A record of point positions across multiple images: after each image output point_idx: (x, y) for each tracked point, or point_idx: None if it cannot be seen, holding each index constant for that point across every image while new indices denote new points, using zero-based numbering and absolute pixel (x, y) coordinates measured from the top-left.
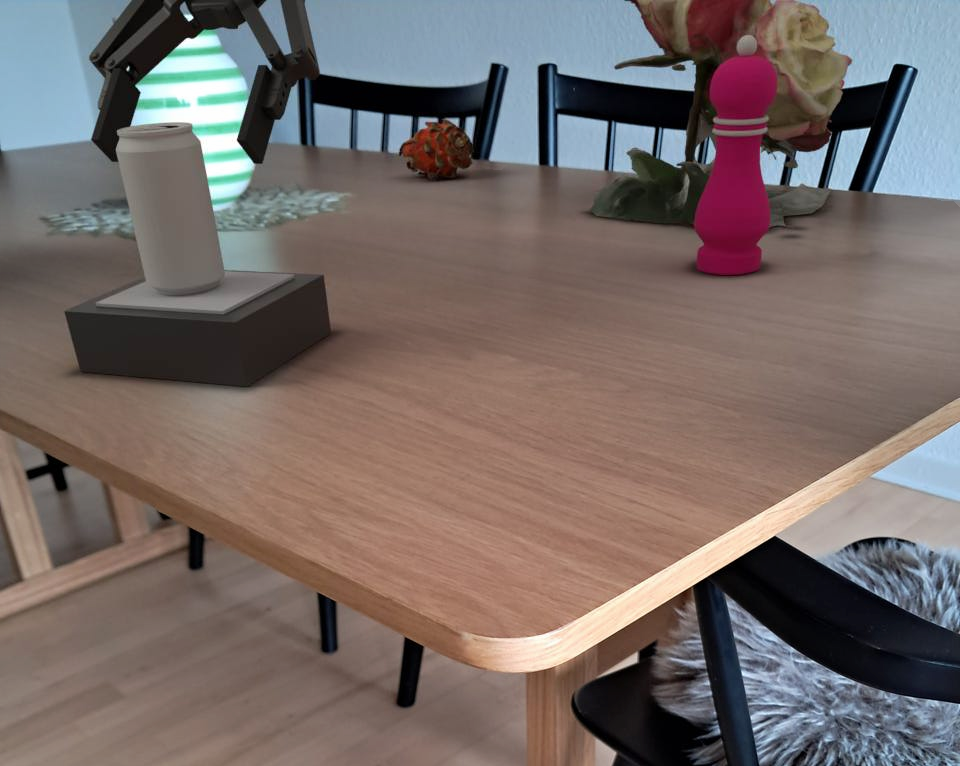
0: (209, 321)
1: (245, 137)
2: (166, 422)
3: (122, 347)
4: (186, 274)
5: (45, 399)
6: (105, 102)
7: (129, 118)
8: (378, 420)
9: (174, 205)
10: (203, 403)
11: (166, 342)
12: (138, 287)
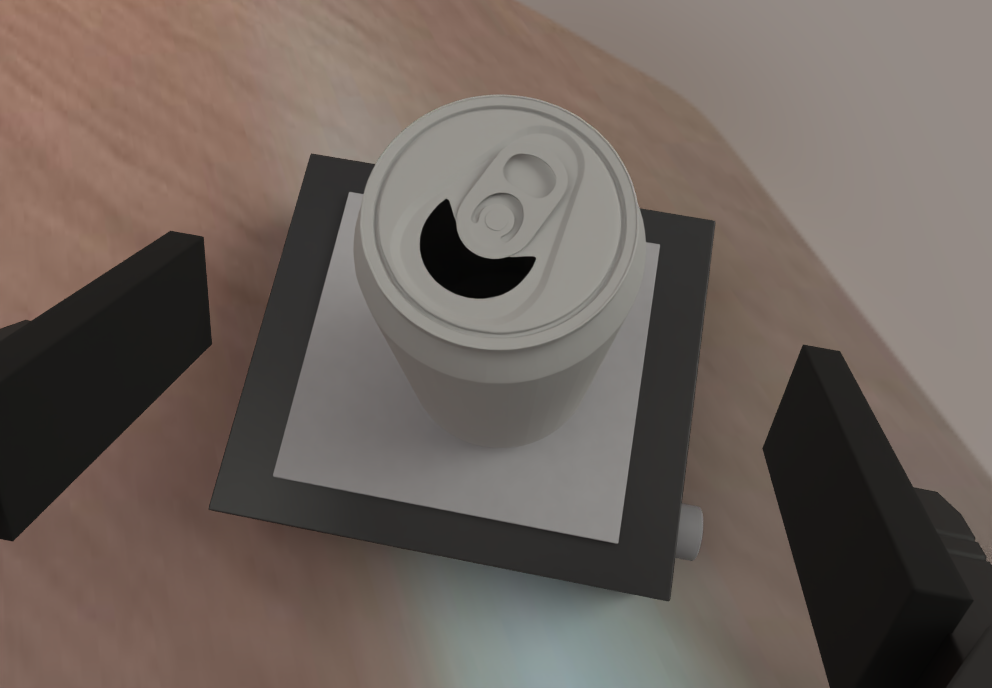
0: (368, 163)
1: (165, 234)
2: (416, 71)
3: None
4: (457, 270)
5: (667, 146)
6: (877, 450)
7: (804, 563)
8: (97, 94)
9: (440, 205)
10: (388, 142)
11: None
12: (624, 362)
